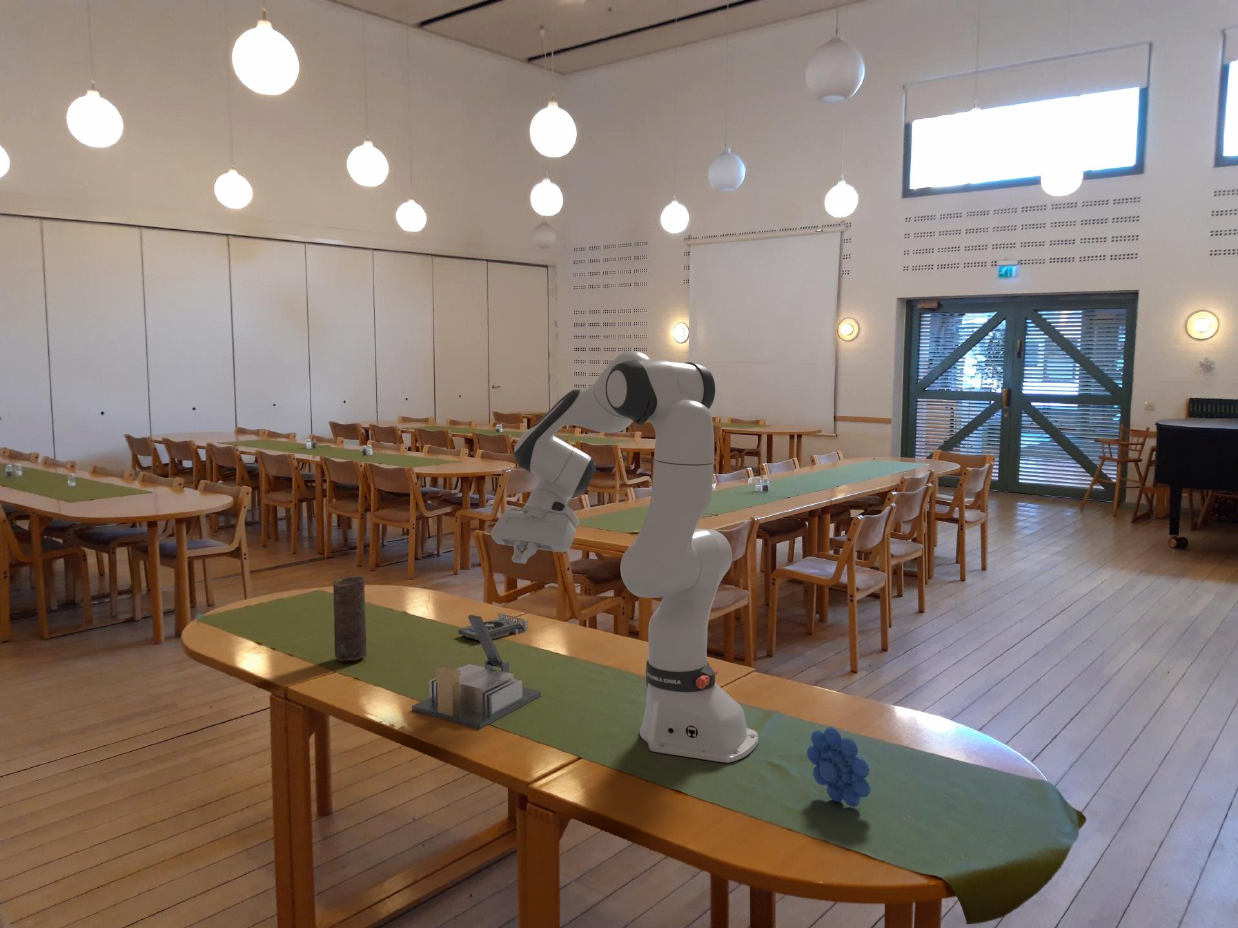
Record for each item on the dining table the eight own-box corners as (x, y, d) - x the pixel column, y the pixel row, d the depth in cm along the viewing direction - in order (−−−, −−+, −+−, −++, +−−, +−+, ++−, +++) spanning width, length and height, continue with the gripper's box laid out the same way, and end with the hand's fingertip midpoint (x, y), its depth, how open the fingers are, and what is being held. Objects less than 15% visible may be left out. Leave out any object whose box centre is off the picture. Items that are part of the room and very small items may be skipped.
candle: (368, 662, 209) (365, 580, 207) (336, 666, 206) (333, 583, 204) (365, 653, 216) (362, 573, 214) (334, 656, 214) (330, 576, 211)
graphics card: (501, 611, 242) (528, 619, 234) (501, 624, 243) (529, 632, 234) (449, 624, 230) (477, 633, 222) (450, 638, 231) (477, 647, 222)
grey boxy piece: (540, 695, 188) (540, 651, 187) (480, 728, 171) (479, 680, 170) (475, 680, 197) (475, 638, 196) (412, 710, 180) (410, 664, 179)
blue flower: (791, 797, 144) (792, 726, 142) (815, 783, 148) (817, 715, 147) (853, 824, 135) (855, 749, 134) (877, 809, 140) (879, 736, 138)
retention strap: (490, 666, 190) (493, 662, 190) (502, 669, 188) (505, 664, 189) (466, 617, 182) (470, 613, 183) (478, 620, 180) (482, 615, 181)
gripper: (501, 499, 204) (474, 548, 196) (574, 506, 193) (549, 558, 186) (513, 515, 208) (487, 564, 201) (586, 523, 197) (561, 575, 190)
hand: (518, 561), depth 193 cm, fingers closed
